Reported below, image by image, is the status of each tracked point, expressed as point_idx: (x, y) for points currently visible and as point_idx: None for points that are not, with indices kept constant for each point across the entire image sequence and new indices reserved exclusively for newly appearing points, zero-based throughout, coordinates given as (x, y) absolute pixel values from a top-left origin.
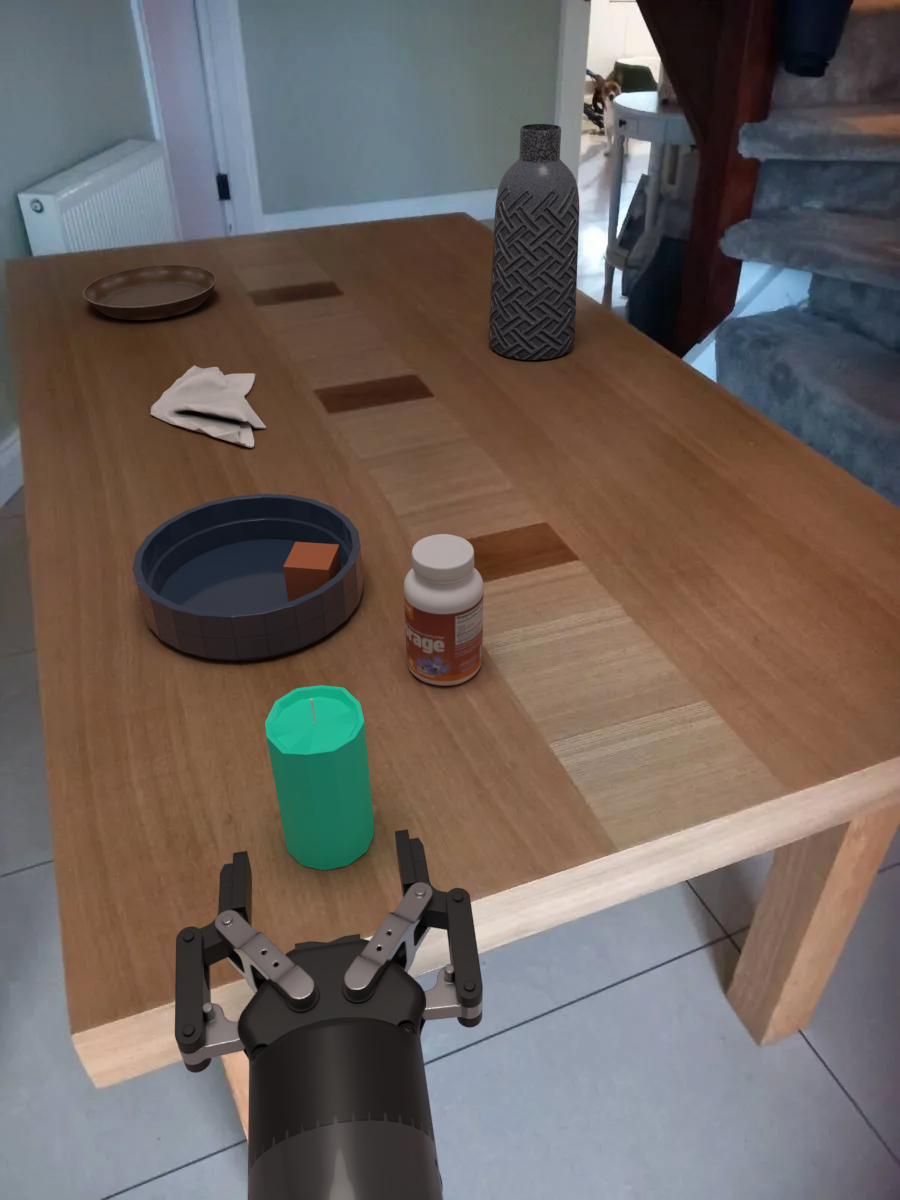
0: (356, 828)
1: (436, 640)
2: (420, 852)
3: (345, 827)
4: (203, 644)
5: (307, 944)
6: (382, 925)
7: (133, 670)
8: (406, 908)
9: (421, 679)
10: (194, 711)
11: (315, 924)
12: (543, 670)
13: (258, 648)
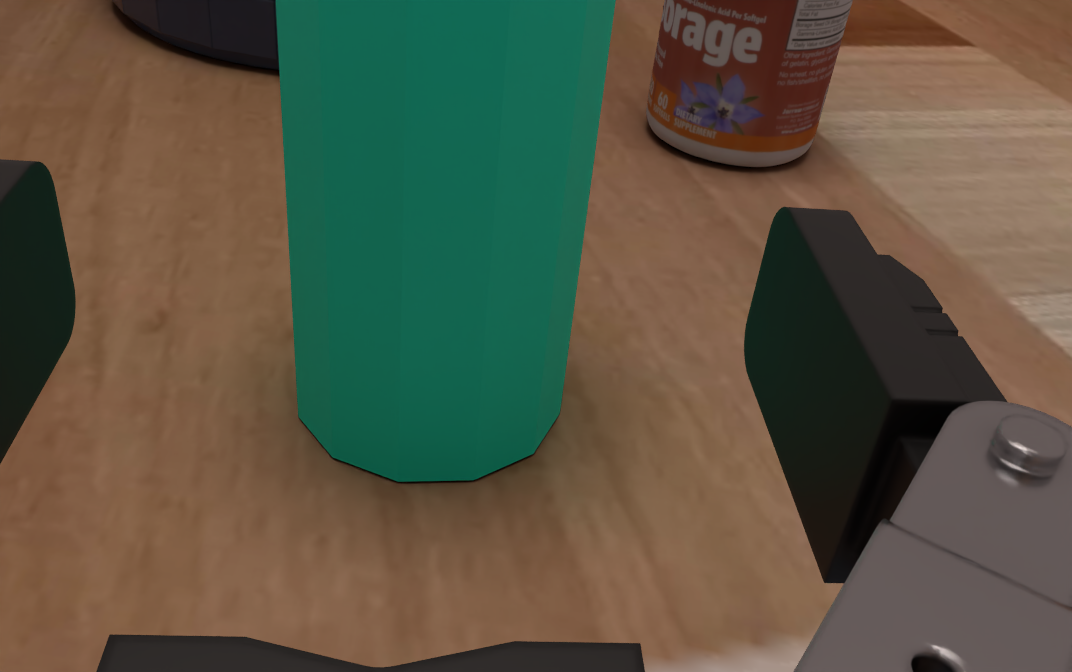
0: (522, 356)
1: (745, 27)
2: (922, 302)
3: (491, 336)
4: (205, 10)
5: (209, 657)
6: (858, 597)
7: (48, 52)
8: (969, 524)
9: (680, 144)
10: (151, 124)
11: (343, 635)
12: (952, 176)
13: None
